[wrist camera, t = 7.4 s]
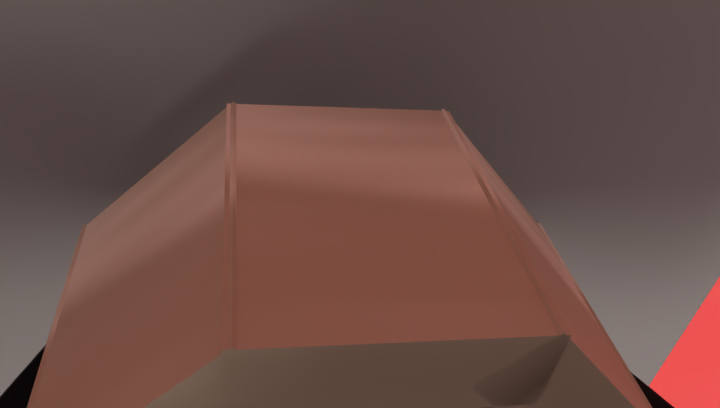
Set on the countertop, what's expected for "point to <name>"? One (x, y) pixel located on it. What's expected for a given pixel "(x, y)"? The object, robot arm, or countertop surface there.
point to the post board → (382, 91)
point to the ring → (325, 279)
